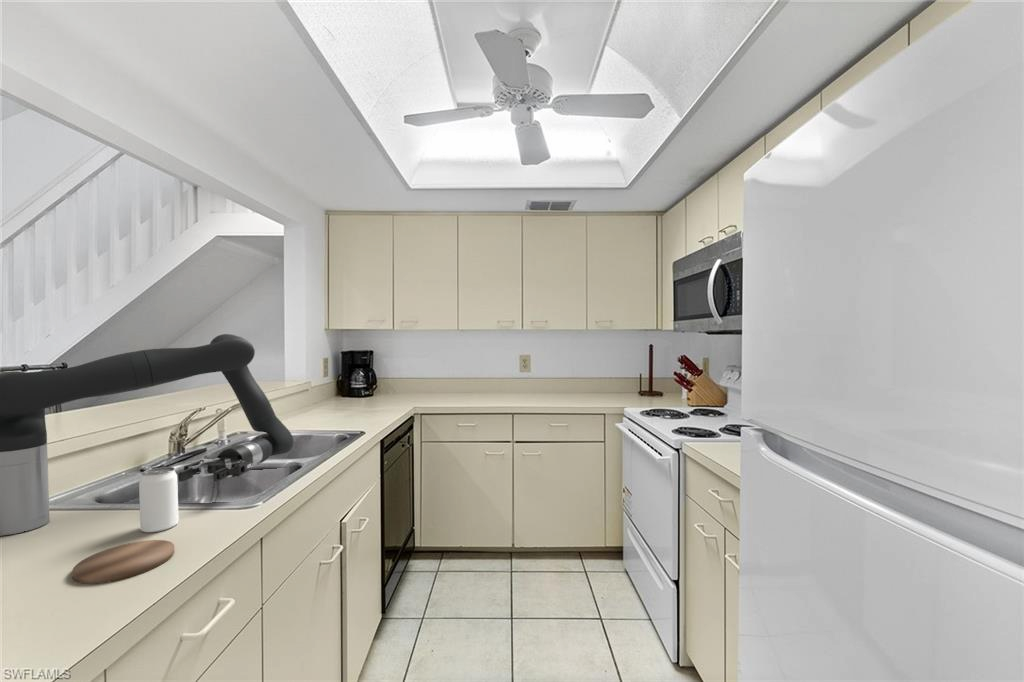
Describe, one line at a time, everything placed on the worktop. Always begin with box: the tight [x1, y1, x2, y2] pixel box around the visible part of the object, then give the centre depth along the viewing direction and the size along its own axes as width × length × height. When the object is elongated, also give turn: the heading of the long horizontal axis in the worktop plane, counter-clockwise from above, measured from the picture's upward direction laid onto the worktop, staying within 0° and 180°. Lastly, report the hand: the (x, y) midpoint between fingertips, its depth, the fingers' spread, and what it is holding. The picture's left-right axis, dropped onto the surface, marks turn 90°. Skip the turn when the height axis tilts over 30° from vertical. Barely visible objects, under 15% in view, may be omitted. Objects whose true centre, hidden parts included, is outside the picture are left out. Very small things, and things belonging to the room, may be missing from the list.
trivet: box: [71, 539, 175, 584], centre depth 84 cm, size 14×14×1 cm
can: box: [138, 466, 179, 534], centre depth 100 cm, size 6×6×12 cm
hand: (197, 477), depth 111 cm, fingers open, 8 cm apart
